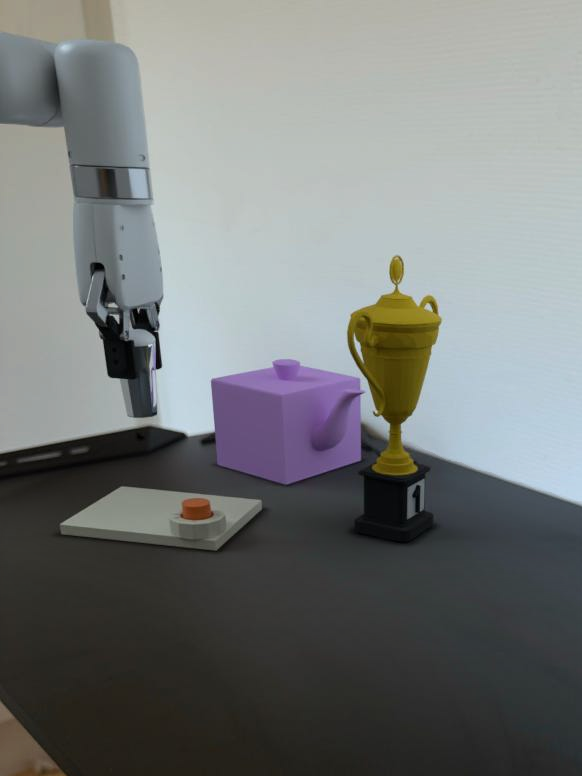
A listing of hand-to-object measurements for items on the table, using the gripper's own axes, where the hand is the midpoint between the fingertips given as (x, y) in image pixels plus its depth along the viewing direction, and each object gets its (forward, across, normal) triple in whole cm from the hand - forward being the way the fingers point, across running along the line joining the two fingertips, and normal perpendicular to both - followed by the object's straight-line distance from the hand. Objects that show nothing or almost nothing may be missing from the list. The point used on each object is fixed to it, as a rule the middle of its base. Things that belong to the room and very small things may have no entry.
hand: (135, 371), depth 101 cm
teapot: (+17, -26, +9) cm, 32 cm away
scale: (+17, 0, +2) cm, 17 cm away
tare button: (+14, +5, +8) cm, 17 cm away
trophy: (+17, -4, +28) cm, 33 cm away
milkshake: (+5, 0, 0) cm, 5 cm away
